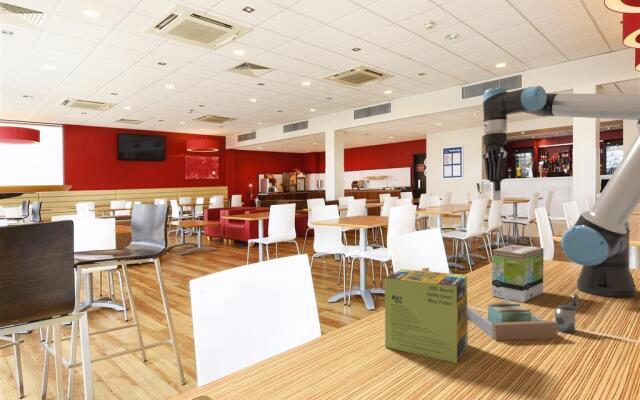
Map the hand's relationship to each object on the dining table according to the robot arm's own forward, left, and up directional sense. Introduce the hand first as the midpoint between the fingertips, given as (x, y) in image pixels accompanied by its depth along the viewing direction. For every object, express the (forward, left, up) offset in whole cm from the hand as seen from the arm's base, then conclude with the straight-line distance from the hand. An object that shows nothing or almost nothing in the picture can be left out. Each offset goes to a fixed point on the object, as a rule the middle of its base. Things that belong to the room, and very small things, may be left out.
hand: (495, 200), depth 135 cm
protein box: (+42, +52, -29) cm, 73 cm away
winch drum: (+7, +46, -29) cm, 55 cm away
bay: (+19, +39, -29) cm, 52 cm away
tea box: (+2, +17, -29) cm, 34 cm away
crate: (+19, +43, -29) cm, 56 cm away
